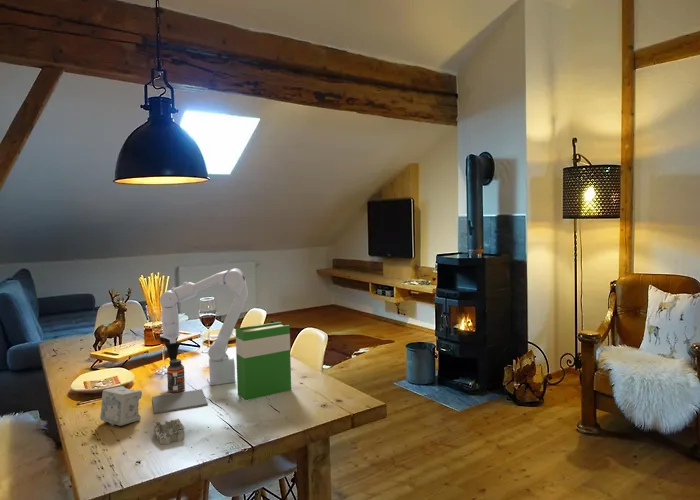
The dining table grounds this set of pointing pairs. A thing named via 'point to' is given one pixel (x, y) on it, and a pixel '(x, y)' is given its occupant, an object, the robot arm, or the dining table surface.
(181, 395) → the mat
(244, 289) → the robot arm
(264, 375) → the hardback book
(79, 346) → the dining table surface
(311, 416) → the dining table surface
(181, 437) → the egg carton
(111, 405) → the incense holder
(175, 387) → the supplement bottle
